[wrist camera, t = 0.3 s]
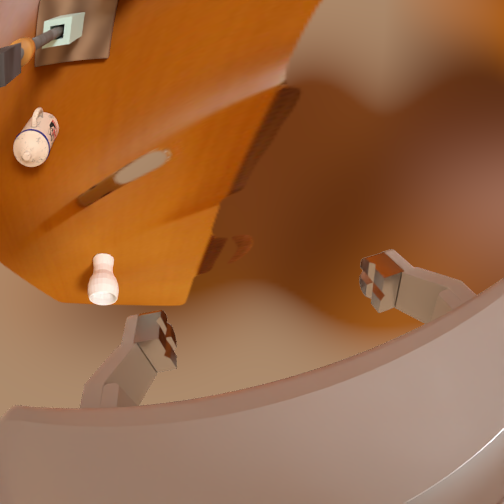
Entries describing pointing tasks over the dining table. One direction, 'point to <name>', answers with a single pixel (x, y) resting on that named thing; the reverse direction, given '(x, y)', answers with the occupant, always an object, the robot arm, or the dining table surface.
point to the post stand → (85, 47)
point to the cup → (103, 281)
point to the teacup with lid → (36, 139)
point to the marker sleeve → (65, 28)
